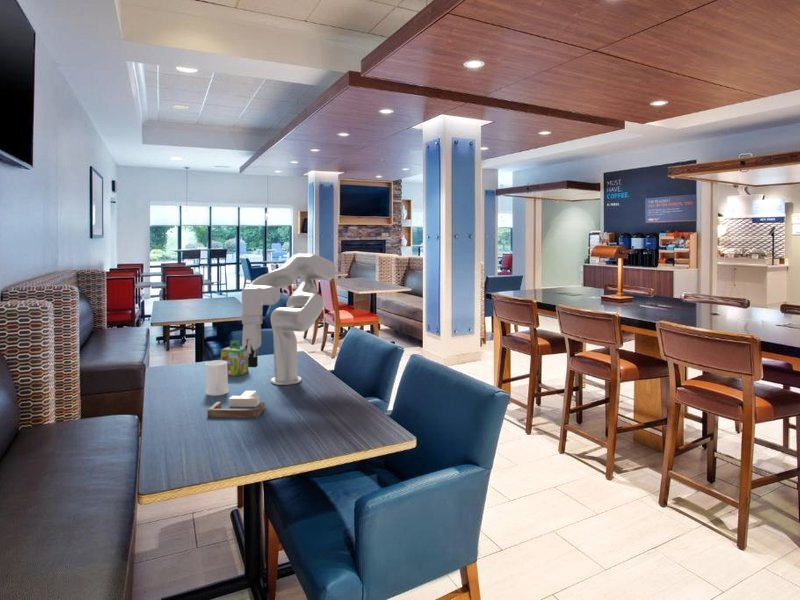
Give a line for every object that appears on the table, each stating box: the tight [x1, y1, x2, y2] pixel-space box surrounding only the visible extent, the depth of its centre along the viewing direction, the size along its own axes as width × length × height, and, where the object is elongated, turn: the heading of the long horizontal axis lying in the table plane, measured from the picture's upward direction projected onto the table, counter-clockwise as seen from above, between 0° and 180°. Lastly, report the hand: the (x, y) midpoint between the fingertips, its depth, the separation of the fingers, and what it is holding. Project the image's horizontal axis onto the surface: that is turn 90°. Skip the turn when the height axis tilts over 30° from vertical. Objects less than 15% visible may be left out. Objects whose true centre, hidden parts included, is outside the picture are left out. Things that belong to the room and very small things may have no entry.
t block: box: [228, 390, 261, 408], centre depth 194 cm, size 10×10×3 cm
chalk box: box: [220, 340, 249, 377], centre depth 234 cm, size 9×9×15 cm
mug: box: [205, 359, 230, 396], centre depth 204 cm, size 12×8×12 cm
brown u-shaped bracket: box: [206, 401, 265, 419], centre depth 182 cm, size 9×17×2 cm, turn 89°
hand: (252, 366), depth 202 cm, fingers closed
